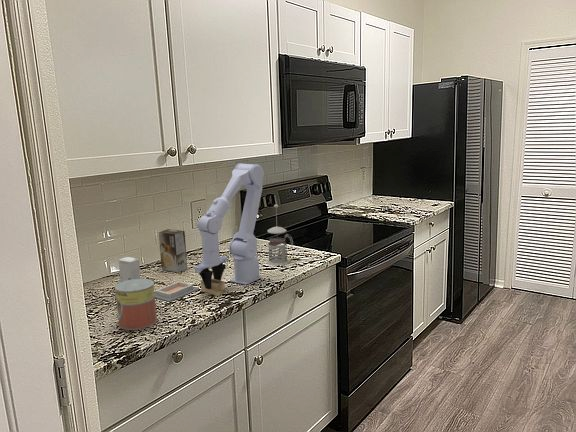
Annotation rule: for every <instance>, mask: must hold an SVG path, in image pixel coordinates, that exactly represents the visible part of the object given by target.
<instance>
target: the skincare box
mask: <svg viewBox="0 0 576 432" xmlns="http://www.w3.org/2000/svg"><path fill="white" fill-rule="evenodd" d="M118 265H119V266H118V267H119V283H120V282H123V281H126V280H130V279H139V278H141V271H140V259H139V258H136V257H132V256H131V257H130V256H125V257H122V258H119V259H118Z"/></svg>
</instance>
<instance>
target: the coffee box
mask: <svg viewBox="0 0 576 432" xmlns="http://www.w3.org/2000/svg"><path fill="white" fill-rule="evenodd" d="M158 241H159V254H160V263H161V265H160V266H161V270H162V271H167V272H174V273H180V272H183V271H184V270H187V269H188V260H187V247H186V246H187V244H186V232H185V230H179V229H170V228H168V229H163V230H161V231H159V232H158Z"/></svg>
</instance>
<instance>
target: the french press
mask: <svg viewBox="0 0 576 432" xmlns="http://www.w3.org/2000/svg"><path fill="white" fill-rule="evenodd" d="M273 207H274V208H275V212H276V214H275V217H276V220H275V221H276V224H278V218H277V217H278V214H277V211H278V209H277V208H279V205H278V204H277V203H276V204H274V205H273ZM286 232H287V229H286V228H284V227H281V226H278V225H276V226H273V227H271V228H269V229H267V233H268V234H271V235H273V234H274V235H280V234H284V237H273V238H270V239H268V241H269V243H267V245H268V260H267V261H266V264H267V265H269V266H283V265H288V264H289V263H290V260H289V259H288V252H289V251H290V250H291V249H292V248H293V246H294V245H293V244H294V241H293V238H292V236H291V235H290V234H289V233H286ZM285 233H286V234H285ZM286 238H288V239H289V241H290V248H289V249H288V248H287V242H286ZM281 244H282V245H281Z"/></svg>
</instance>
